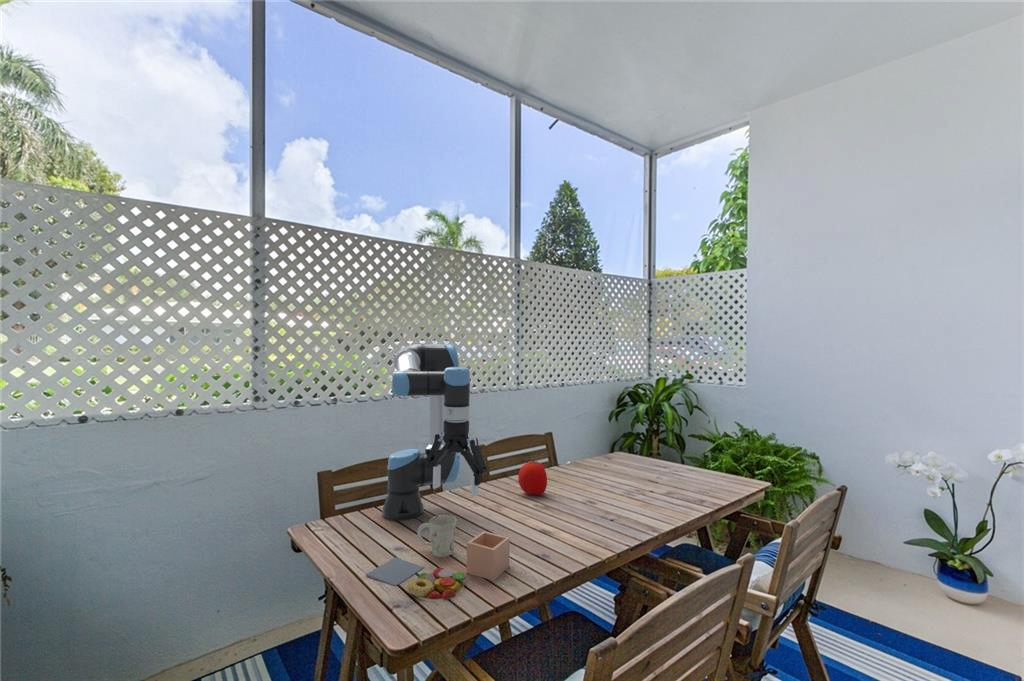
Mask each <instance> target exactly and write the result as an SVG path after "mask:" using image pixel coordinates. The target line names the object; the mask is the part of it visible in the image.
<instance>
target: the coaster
mask: <svg viewBox="0 0 1024 681" xmlns="http://www.w3.org/2000/svg"><path fill="white" fill-rule="evenodd" d="M423 569H425V566H422V565H419V564H416V563H414V562H410V561H408V560H404V559H402V558H398V557H393V558H391V559H390V560H388V561H386V562H384V563H382V564H381V565H380V566H378V567H376V568H374V569H373V570H370V571H368V572H367V573H366V574H365V577H366V576H369V577H372V578H375V579H378V580H380V581H379V582H381V581H383V582H382V583H384V582H385V583H384V584H387V583H388V585H390V584H391V586H393V585H394V586H393V587H397V586H399V585H400V584H402V583H403V582H405V581H407V580H408V579H410V578H411V577H413V576H414V575H416V574H417V573H419V572H420V571H422V570H423ZM369 577H368V578H369ZM372 578H371V579H372ZM375 579H374V580H375ZM378 580H377V581H378Z"/></svg>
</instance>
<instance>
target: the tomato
mask: <svg viewBox="0 0 1024 681" xmlns="http://www.w3.org/2000/svg"><path fill="white" fill-rule="evenodd" d="M517 476H518V478H517V480H518V484H519V487H520V489H521V490H522V491H523V492H524V493H526V494H528V495H531V496H541V495H543V494H544V493H545V492H546V490H547V486H548V476H547V471H546V469H545V466H544V464H543V463H541V462H540V461H535V460H532V461H531V460H529V461H528V462H526V463H524V464H523V465H522V466H521V467H520V469H519V472H518V475H517Z"/></svg>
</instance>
